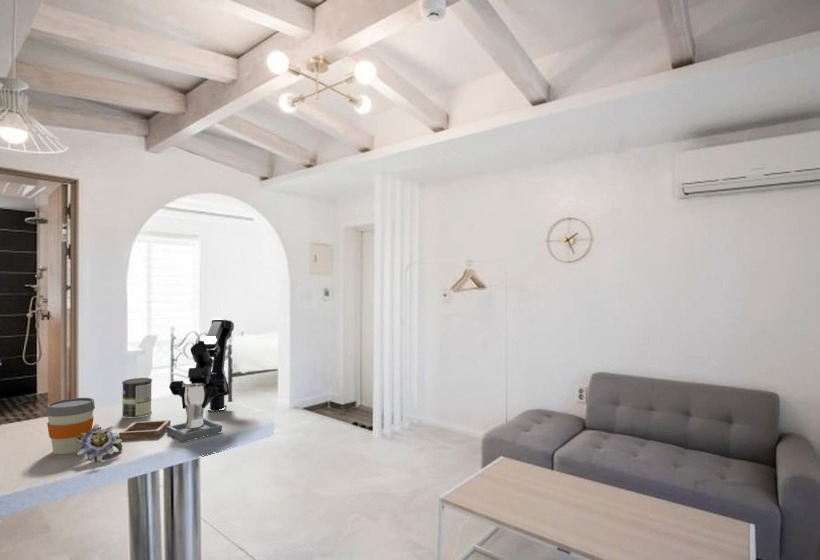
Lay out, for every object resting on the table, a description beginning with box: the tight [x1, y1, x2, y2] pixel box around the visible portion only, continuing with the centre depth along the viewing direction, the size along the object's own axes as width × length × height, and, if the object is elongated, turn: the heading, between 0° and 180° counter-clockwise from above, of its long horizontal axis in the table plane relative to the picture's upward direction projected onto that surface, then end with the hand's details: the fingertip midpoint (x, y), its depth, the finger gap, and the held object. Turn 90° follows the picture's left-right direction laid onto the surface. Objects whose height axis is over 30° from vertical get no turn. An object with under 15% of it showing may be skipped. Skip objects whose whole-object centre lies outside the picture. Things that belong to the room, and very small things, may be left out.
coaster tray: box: [166, 417, 223, 443], centre depth 161 cm, size 14×14×2 cm
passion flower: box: [74, 423, 123, 463], centre depth 139 cm, size 11×11×12 cm
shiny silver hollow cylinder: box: [184, 383, 206, 429], centre depth 161 cm, size 7×7×15 cm
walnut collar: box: [118, 419, 171, 441], centre depth 161 cm, size 12×12×2 cm
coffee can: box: [121, 377, 153, 419], centre depth 183 cm, size 10×10×14 cm
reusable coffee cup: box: [45, 397, 96, 455], centre depth 146 cm, size 13×13×15 cm
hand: (193, 408), depth 160 cm, fingers closed on shiny silver hollow cylinder, 6 cm apart
